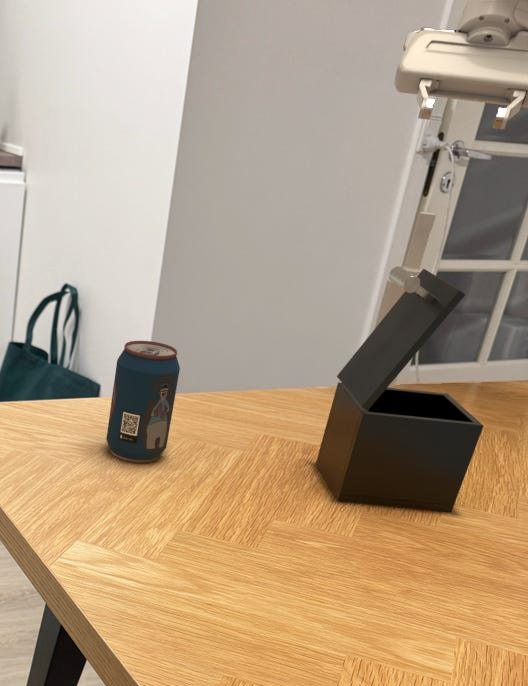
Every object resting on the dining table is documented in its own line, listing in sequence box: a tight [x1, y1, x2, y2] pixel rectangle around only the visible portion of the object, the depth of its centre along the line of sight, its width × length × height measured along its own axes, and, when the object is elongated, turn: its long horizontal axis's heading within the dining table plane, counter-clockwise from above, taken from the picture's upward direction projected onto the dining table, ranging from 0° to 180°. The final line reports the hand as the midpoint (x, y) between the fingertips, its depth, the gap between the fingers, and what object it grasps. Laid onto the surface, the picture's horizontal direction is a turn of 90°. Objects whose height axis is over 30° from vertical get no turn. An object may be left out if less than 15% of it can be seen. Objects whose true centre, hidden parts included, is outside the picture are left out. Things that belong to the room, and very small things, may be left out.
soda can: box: [106, 340, 181, 463], centre depth 99 cm, size 7×7×12 cm
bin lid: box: [336, 265, 466, 411], centre depth 91 cm, size 13×11×5 cm
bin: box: [315, 381, 484, 513], centre depth 98 cm, size 13×11×10 cm
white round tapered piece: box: [373, 211, 437, 388], centre depth 121 cm, size 5×5×25 cm
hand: (461, 120), depth 116 cm, fingers open, 8 cm apart
